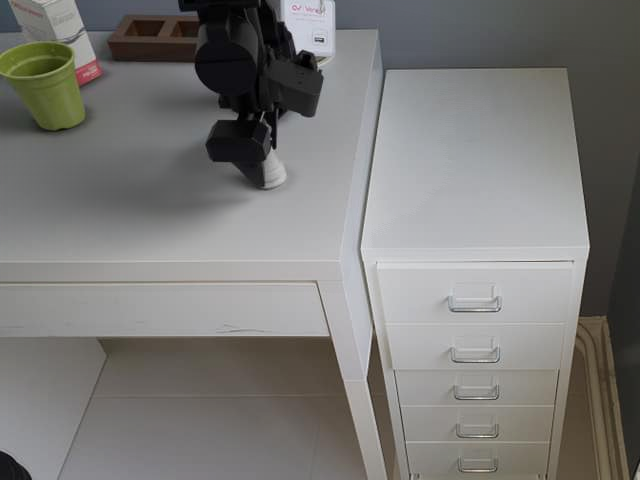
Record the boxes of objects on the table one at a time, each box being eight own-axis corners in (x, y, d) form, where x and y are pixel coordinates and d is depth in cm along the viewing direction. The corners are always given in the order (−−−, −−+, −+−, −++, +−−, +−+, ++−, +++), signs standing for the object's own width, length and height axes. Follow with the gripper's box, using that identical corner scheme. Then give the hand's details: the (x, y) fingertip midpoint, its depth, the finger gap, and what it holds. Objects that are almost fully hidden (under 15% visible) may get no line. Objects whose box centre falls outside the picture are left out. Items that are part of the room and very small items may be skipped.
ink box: (105, 74, 107) (72, -9, 98) (77, 89, 105) (40, 5, 95) (67, 57, 110) (31, -25, 101) (38, 72, 107) (-2, -12, 98)
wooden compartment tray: (217, 62, 110) (212, 43, 108) (114, 61, 110) (106, 41, 107) (229, 34, 115) (224, 15, 113) (131, 33, 115) (124, 14, 113)
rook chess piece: (280, 192, 91) (266, 136, 84) (246, 187, 91) (230, 131, 85) (292, 171, 93) (280, 115, 87) (259, 166, 94) (245, 110, 88)
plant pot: (60, 94, 104) (32, 34, 97) (114, 109, 102) (89, 49, 95) (10, 128, 98) (-23, 67, 91) (66, 145, 96) (36, 84, 89)
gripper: (298, 93, 73) (321, 216, 85) (323, 7, 85) (340, 125, 97) (185, 92, 73) (225, 215, 85) (227, 5, 85) (256, 124, 97)
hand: (266, 167), depth 91 cm, fingers open, 7 cm apart
